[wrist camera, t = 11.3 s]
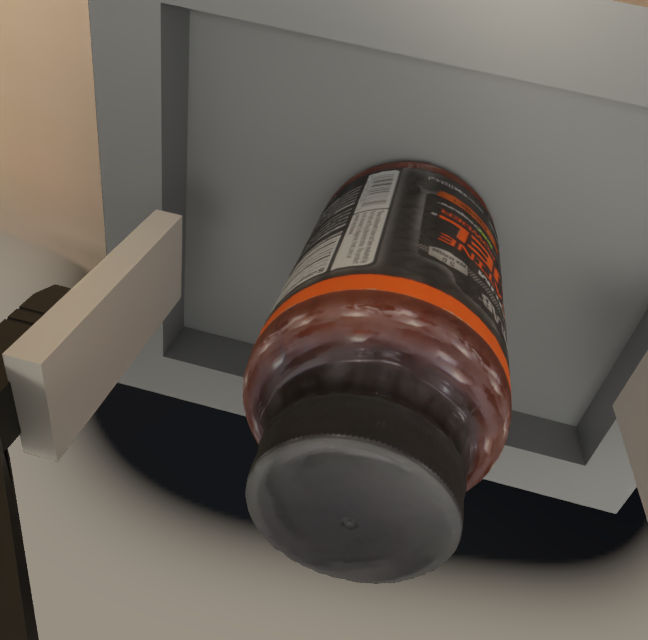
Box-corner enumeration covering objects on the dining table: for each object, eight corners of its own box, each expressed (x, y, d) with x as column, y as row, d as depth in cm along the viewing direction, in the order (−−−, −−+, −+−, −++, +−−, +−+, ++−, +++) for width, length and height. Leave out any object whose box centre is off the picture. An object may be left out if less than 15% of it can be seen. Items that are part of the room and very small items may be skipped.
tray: (148, 338, 26) (116, 381, 23) (137, -104, 16) (80, -109, 14) (600, 454, 24) (615, 513, 22) (873, 45, 15) (952, 69, 12)
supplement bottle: (534, 259, 19) (595, 579, 10) (390, 340, 22) (334, 642, 13) (426, 112, 17) (378, 340, 8) (283, 222, 20) (130, 478, 11)
